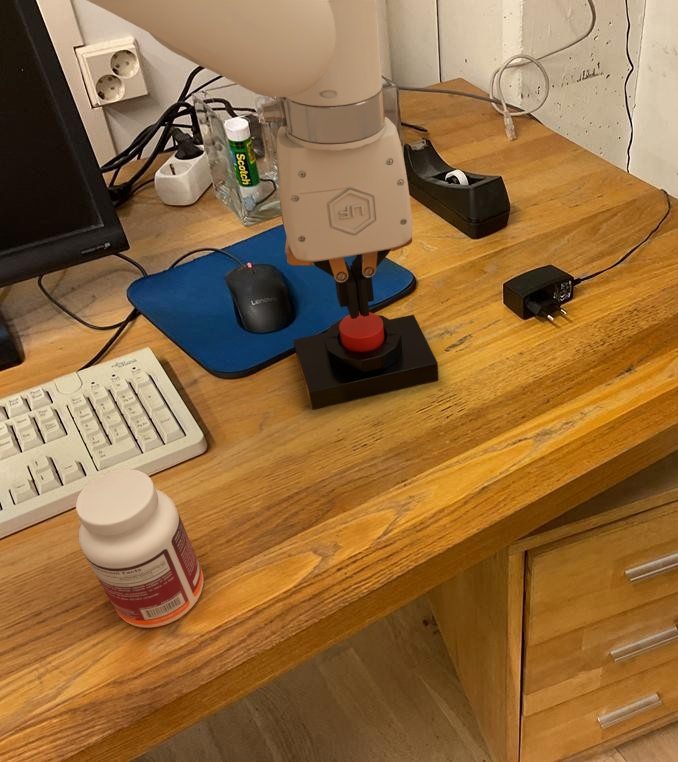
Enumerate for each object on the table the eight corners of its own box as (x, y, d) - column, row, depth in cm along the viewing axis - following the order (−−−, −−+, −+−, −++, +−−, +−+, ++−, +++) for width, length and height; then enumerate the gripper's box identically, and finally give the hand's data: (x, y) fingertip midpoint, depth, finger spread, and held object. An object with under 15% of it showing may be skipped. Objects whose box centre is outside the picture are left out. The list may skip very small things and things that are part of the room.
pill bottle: (152, 548, 62) (108, 448, 54) (222, 572, 60) (186, 472, 53) (96, 615, 57) (40, 517, 50) (169, 643, 56) (123, 545, 49)
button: (346, 356, 74) (344, 341, 72) (337, 331, 76) (334, 316, 75) (389, 347, 75) (387, 332, 74) (378, 322, 78) (376, 307, 76)
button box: (312, 410, 74) (306, 377, 71) (296, 356, 79) (290, 324, 76) (438, 380, 77) (437, 347, 74) (414, 331, 82) (412, 299, 80)
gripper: (238, 145, 56) (279, 350, 68) (444, 119, 61) (448, 316, 73) (225, 104, 61) (266, 301, 73) (415, 82, 66) (424, 272, 78)
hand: (356, 308), depth 73 cm, fingers closed
